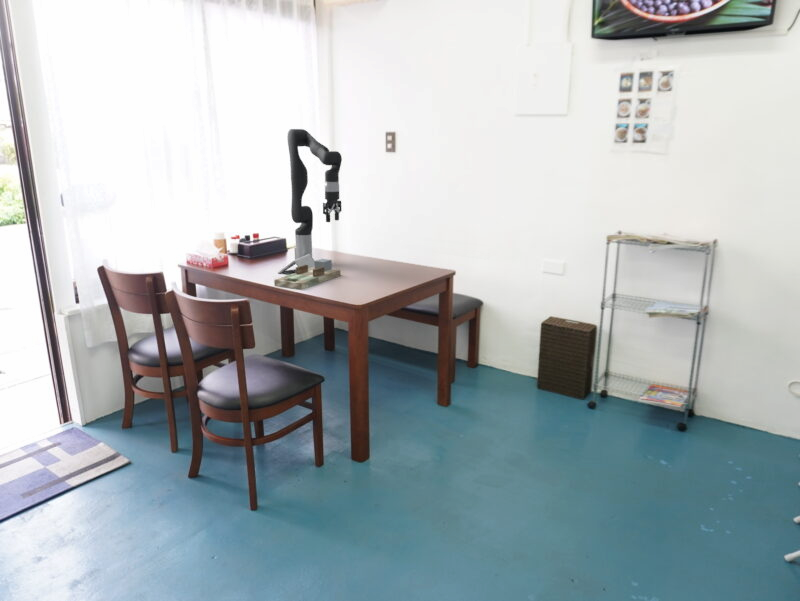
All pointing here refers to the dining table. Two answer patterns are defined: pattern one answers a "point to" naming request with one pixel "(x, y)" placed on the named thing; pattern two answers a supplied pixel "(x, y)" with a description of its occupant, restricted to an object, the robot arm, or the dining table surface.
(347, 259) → the dining table surface
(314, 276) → the tunnel deck
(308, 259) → the bracket
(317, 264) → the grey block
